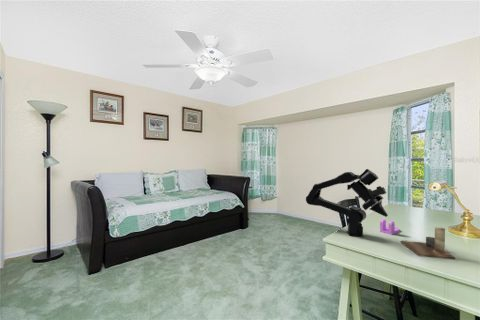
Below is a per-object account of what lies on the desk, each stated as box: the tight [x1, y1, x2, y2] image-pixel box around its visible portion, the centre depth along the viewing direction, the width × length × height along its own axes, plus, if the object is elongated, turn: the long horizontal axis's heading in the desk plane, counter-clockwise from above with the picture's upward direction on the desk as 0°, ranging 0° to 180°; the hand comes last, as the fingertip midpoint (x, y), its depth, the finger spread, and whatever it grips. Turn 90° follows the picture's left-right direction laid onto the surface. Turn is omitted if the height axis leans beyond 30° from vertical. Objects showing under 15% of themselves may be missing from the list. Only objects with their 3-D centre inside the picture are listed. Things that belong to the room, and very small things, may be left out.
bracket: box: [379, 218, 401, 236], centre depth 122 cm, size 13×6×7 cm, turn 123°
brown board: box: [400, 240, 456, 260], centre depth 97 cm, size 13×15×1 cm
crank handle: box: [425, 226, 446, 253], centre depth 96 cm, size 10×4×10 cm, turn 161°
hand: (387, 216), depth 106 cm, fingers closed
